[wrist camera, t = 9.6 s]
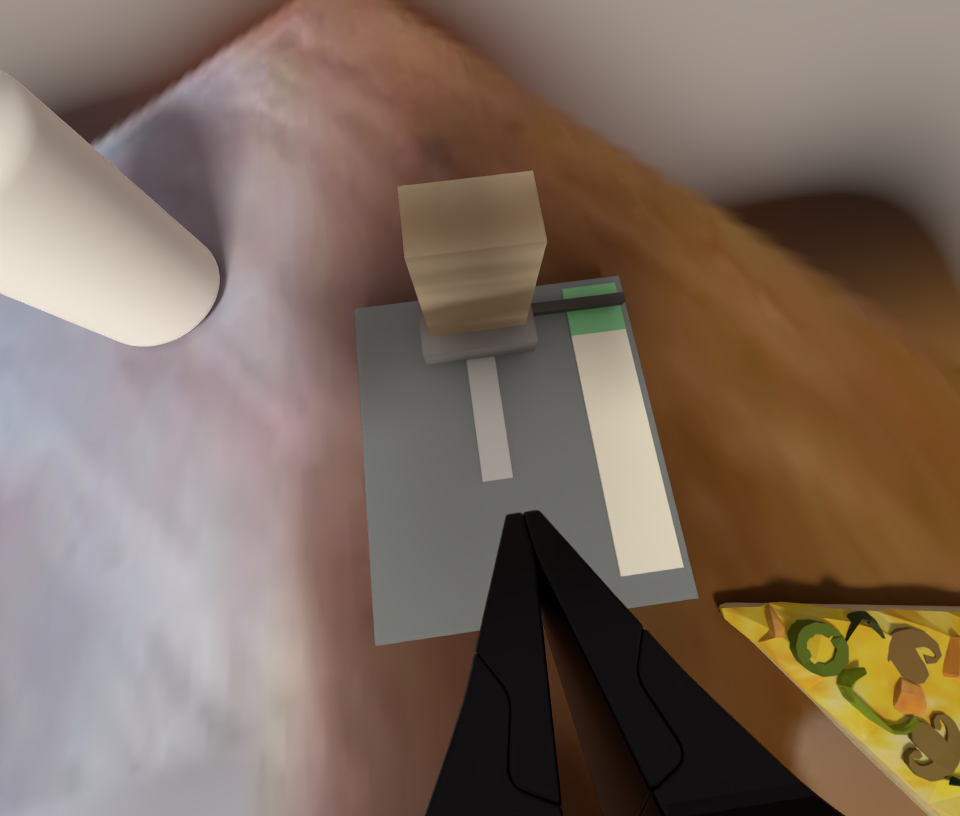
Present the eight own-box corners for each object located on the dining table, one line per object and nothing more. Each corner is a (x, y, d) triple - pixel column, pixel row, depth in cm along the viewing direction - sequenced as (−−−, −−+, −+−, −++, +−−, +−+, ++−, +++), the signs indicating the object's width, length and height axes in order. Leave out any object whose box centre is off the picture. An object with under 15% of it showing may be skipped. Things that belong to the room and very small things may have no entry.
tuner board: (676, 587, 20) (702, 599, 17) (386, 630, 19) (373, 648, 17) (607, 293, 24) (620, 272, 21) (364, 323, 23) (352, 306, 21)
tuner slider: (631, 339, 20) (725, 244, 12) (427, 366, 20) (392, 285, 12) (612, 262, 21) (687, 130, 14) (418, 286, 21) (381, 165, 13)
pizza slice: (1094, 957, 17) (1224, 1057, 14) (667, 748, 19) (701, 796, 16) (1110, 621, 20) (1218, 644, 17) (742, 470, 22) (782, 468, 19)
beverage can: (182, 369, 23) (-137, 241, 11) (78, 323, 23) (-325, 156, 12) (249, 265, 24) (34, 56, 13) (150, 224, 25) (-141, -8, 13)
